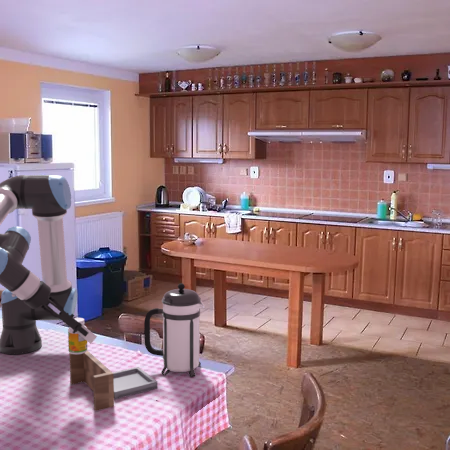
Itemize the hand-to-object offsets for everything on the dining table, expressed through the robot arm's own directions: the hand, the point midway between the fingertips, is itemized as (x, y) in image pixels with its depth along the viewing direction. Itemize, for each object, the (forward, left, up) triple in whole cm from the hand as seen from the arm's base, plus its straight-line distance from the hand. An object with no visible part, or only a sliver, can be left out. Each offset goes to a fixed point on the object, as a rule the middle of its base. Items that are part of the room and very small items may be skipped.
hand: (89, 336), depth 166 cm
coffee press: (-2, +31, -18) cm, 36 cm away
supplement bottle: (0, -4, -4) cm, 6 cm away
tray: (0, +12, -18) cm, 22 cm away
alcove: (0, 0, -18) cm, 18 cm away
